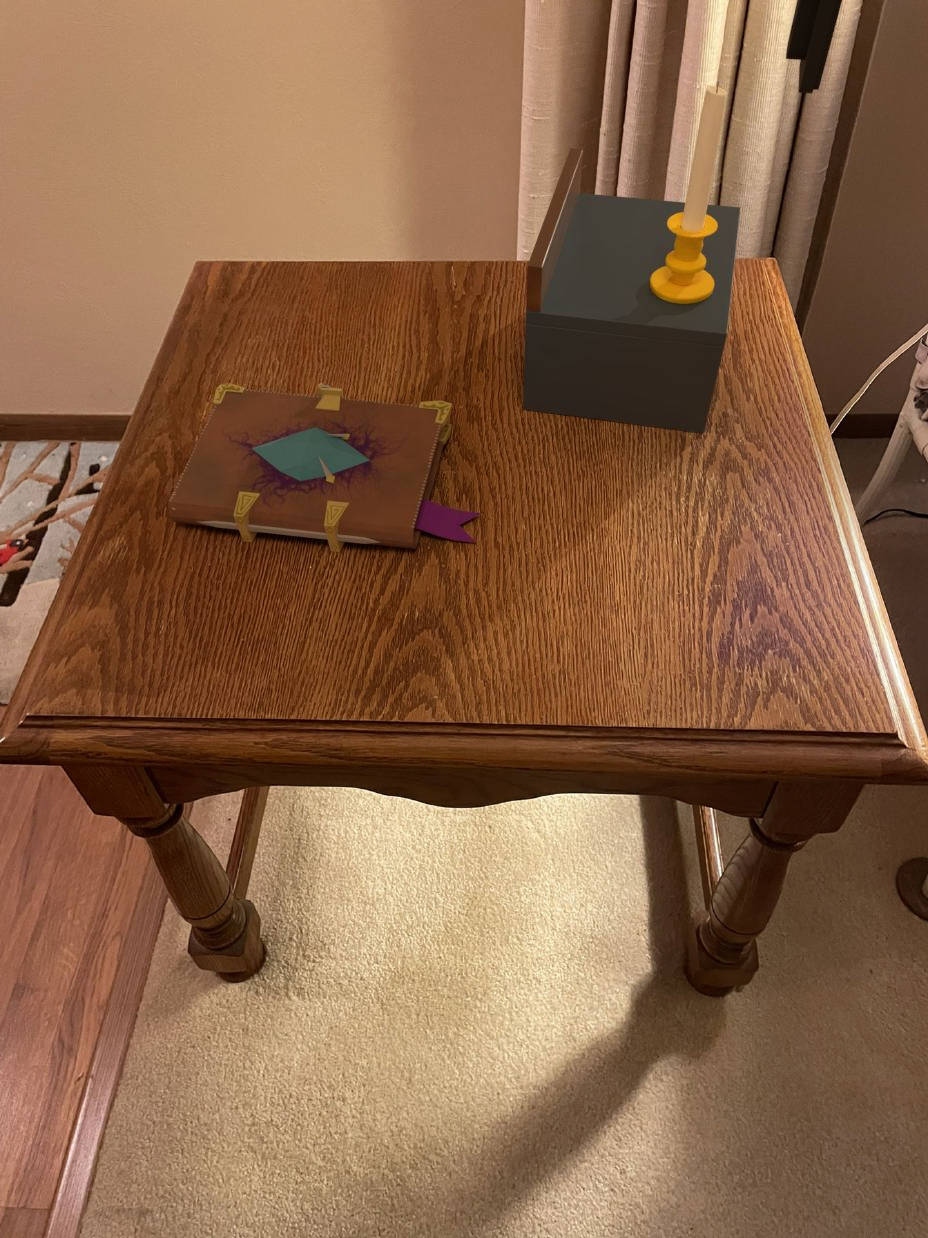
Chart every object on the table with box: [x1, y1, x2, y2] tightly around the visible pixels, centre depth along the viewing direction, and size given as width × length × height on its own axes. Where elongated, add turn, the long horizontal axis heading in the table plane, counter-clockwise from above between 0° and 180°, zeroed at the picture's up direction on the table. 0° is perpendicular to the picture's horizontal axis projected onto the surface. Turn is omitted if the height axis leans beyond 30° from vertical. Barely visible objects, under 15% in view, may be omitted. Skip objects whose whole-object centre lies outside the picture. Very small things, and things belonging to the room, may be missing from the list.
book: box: [168, 381, 483, 553], centre depth 73 cm, size 16×25×5 cm, turn 80°
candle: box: [650, 80, 728, 304], centre depth 67 cm, size 5×5×16 cm
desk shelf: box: [522, 148, 742, 434], centre depth 79 cm, size 16×20×14 cm
